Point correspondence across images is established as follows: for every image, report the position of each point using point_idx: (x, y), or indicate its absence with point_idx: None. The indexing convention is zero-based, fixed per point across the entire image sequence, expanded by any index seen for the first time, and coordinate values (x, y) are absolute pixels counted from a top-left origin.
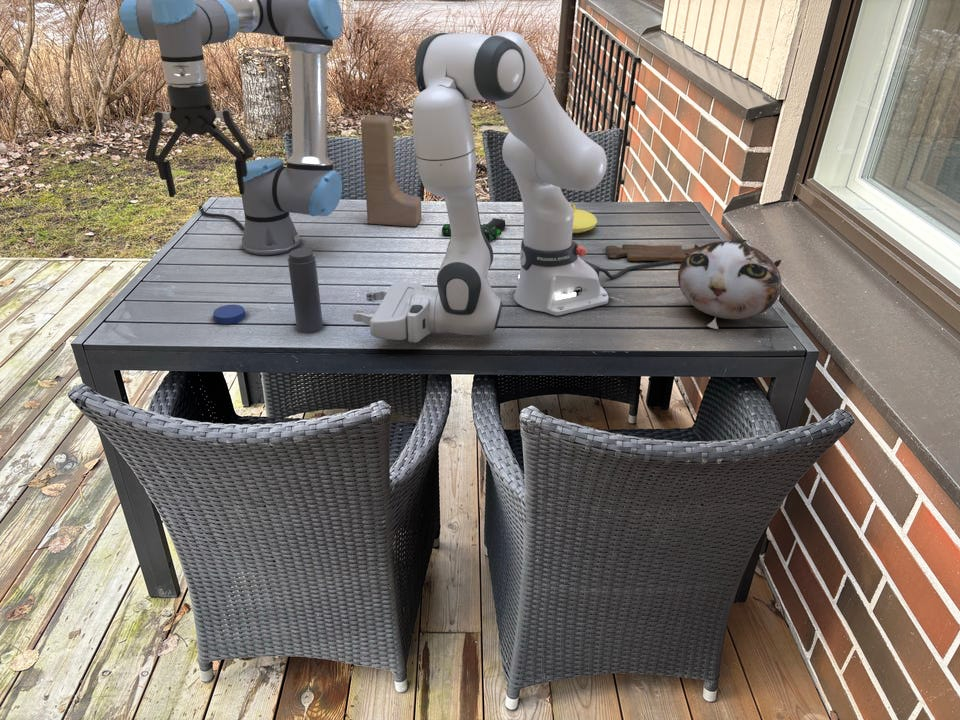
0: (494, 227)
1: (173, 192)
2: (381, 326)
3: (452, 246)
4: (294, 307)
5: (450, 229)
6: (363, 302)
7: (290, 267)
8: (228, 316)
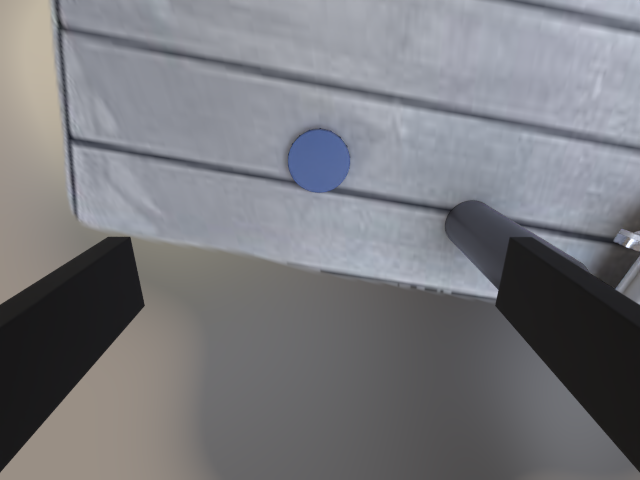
0: None
1: (130, 296)
2: None
3: None
4: (462, 247)
5: None
6: (596, 130)
7: None
8: (321, 187)
